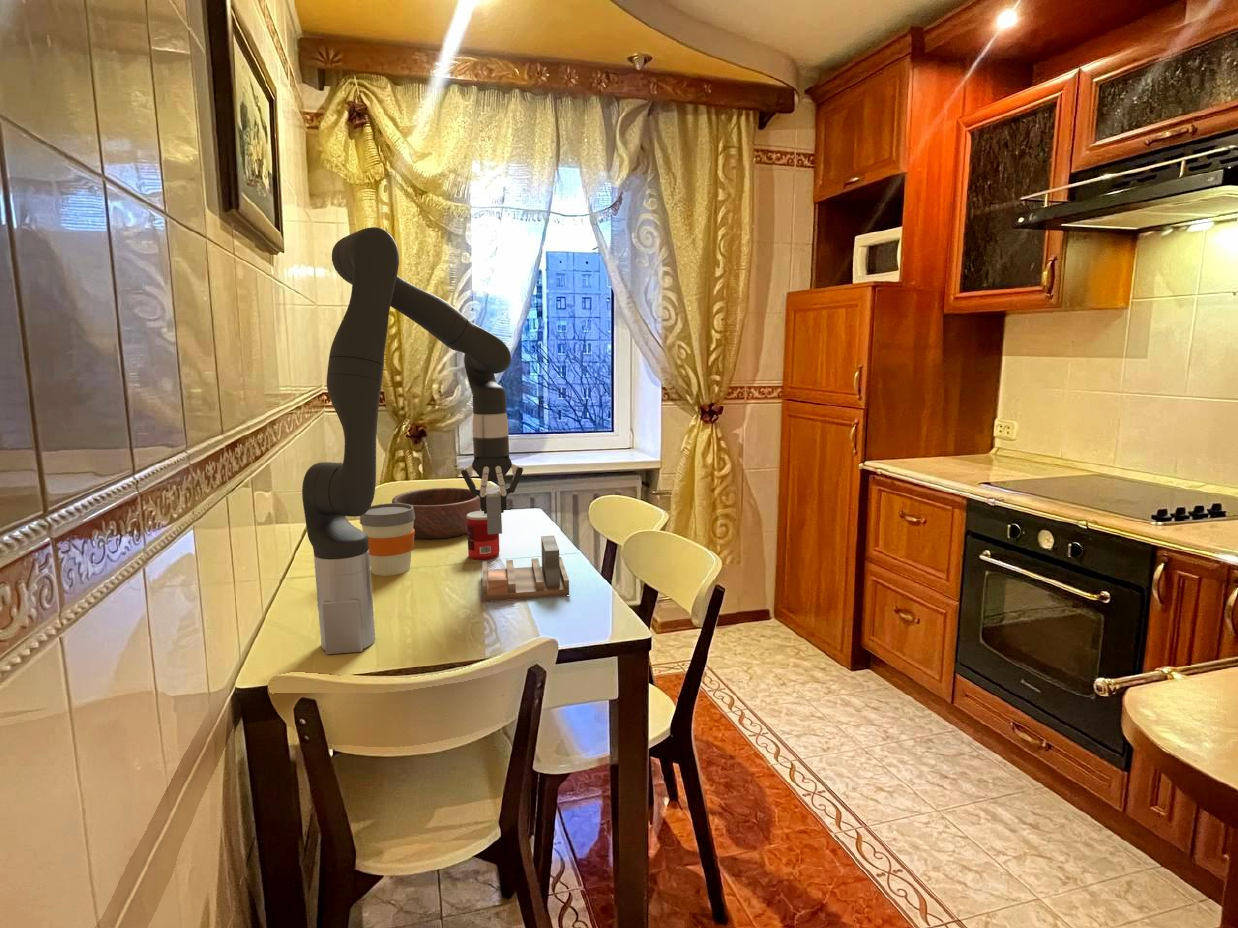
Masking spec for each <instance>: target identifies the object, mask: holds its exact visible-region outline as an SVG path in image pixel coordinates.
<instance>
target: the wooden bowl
mask: <svg viewBox="0 0 1238 928" xmlns="http://www.w3.org/2000/svg"><path fill="white" fill-rule="evenodd" d="M391 503H401V504H409V505H412V506H413V508H414V514H415V520H414V523H413V528H414V529H415V534H414V539H417V540H418V539H419V540H439V539H440V540H441V539H449V538H455V537H458V536H463V535H467V514H468V513H471V512H475V511H481V508H480V497H479V496H478V495H473V494H472V493H471V491H470V489H469V488H463V487H462V488H461V487H434V488H426V489H425V488H424V489H417V490H413V491H408V492H402V493H400V494H397V495H395V496H393V498H392V500H391Z"/></svg>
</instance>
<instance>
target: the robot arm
mask: <svg viewBox="0 0 1238 928" xmlns="http://www.w3.org/2000/svg"><path fill="white" fill-rule="evenodd" d="M331 262H332V265H333V268H334V269H335V271H336V273H337V274H338V276H339V277H341V278H342V280H344V281H346V282H347V283H349V284H350V285H351V293H350V299H349V303H348V306H347V309H346V311H345V314H344V316H343V318H342V320H341V322H340V324H339V325H338V326H339V327H338V329H337V331H336V334H335V336H334V338H333V340H332V343H331V346H330V349H329V356H328V363H327V373H326V390H327V394H328V396H329V399H330V401H331V405H332V406H333V407H332V408H333V409H334V411H335V412H336V415H337V418H338V419H339V422H340V425H341V427H342V430H343V437H344V451H343V452H344V453H343V462H329V461H328V462H327V461H324V462H323V461H321V462H317V463H314V464H312V465H311V466H310V467H309V468H308V469H307V470H306V472H305V475H304V477H303V480H302V481H303V482H302V484H301V485H302V486H301V487H302V489H301V495H302V497H301V498H302V504H303V505H302V507H303V512H304V519H305V525H306V532H307V533H306V534H307V538H308V541H309V542H310V544H311V546H312V549H313V561H314V572H315V574H314V575H315V584H316V585H315V586H316V596H317V598H316V599H317V609H318V620H319V621H318V622H319V631H320V643H321V649H322V650H323V651H325V655H334V654H347V653H358V652H359V653H360V652H363V651H364V649H366V648H368V647H370V646H371V645H373V644H374V643H375V641H376V628H375V627H376V626H375V615H374V602H373V601H374V599H373V598H374V597H373V588H372V587H373V586H372V572H371V567H370V554H369V541H368V536H367V534H366V533H365V532H363V530H361V529H360V528H358V527H356V526H354V525H353V524H352V523H351V522H350V521H349V520H348V519H347V517H354V518H355V517H356V518H357V517H360V516H361V515H363V514H365V513H366V512H367V511H368V510H369V508H370V507H371V506H372V504H373V501H374V498H375V494H376V485H377V433H378V419H379V418H378V417H379V409H380V408H379V407H380V400H381V399H380V398H381V391H382V386H383V385H382V384H383V378H384V375H383V374H384V369H385V368H384V367H385V353H386V352H385V351H386V344H387V337H388V336H387V334H388V327H389V326H388V325H389V318H390V317H389V316H390V310H391V308H393V309H394V310H396V311H397V312H399V313H400V314H402V315H404V317H407V318H408V319H410V320H411V321H413V322H415V324H417V325H418V326H420V327H421V328H423V329H424V330H425V331H427V332H428V333H429V334H430V335H431V336H433V337H434V338H436V339H437V340H438V341H439V342H441V343H442V344H443V345H444V346H445V347H447V348H449V349H450V350H452V351H455V352H458V353H459V352H460V353H463V354H464V357H463V362H464V368H465V373H466V378H467V381H468V384H469V387H470V391H471V394H472V432H471V433H472V442H473V461H472V463H471V465H469V466H467V467H462V468H461V471H460V474H461V476H462V477H463V479H464V482H465V483H466V486H467V487H468V489H470V491H471V493H472V494H473V495H478V496H479V497H480V508H481V509H480V511H484V514H487V505H486V488H487V486H488V482H492V481H493V482H494V481H495V482H498V485H499V487H500V495H501V514H504V513H505V511H507V508H508V501H507V496H508V495H510V494H514V493H515V491H516V489H517V487H518V484H519V481H520V479H521V477H522V474H523V472H524V468H523V466H522V465H518V464H517V465H516V464H514V463H512V460H511V458H510V442H509V439H510V438H509V421H508V414H507V396H506V390H505V388H504V387H503V386H501V385H500V384H498V383H497V380H496V377H495V375H497V374H501V373H503V372H505V371H507V370H508V368H509V367H510V365H511V362H512V356H511V351H510V349H509V347H508V345H507V344H506V343H505V342H504V341H503V340H502V339H501V338H499V337H498V336H495V335H494V334H493V333H491V332H489V331H488V330H486V329H485V328H483V327H480V326H478V325H477V324H475V323H474V322H472V321H471V320H470V319H469V318H467V317H466V316H465V315H464V314H463V313H462V312H461V311H459V310H458V309H457V308H456V307H454V306H453V305H452V304H450V302H447V300H445V299H442V298H441V297H439V296H437V295H435V294H433V293H431V292H428V291H426V290H424V289H422V288H420V287H417V286H416V285H414V284H412V283H410V282H408V281H407V280H404V279H403V278H402V277H401V276H399V275H398V273H399V266H400V252H399V248H398V245H397V243H396V240H395V239H394V237H393V236H392V235H391V234H390V233H389V232H388V231H387V230H385V229H383V228H381V227H375V226H373V227H372V226H371V227H365V228H362V229H360V230H357V231H355V232H352V233H351V234H349V235H346V236H344V237H343V238H340V239H339V240H338V241H337V242H336V243H335V244H334V246H333V247H332V251H331ZM510 469H511V470H512V471H511V474H512V475H513V476H512V479H511V481H510V483H509V486H507V487H506V483H505V479H504V478H505V477H506V476H507V474H508V473H509V471H510ZM473 471H474V473H476V474H477V475H478V477H479V478H480V479H481V480H480V488H477V486H476V484H475V482H474V481H473V478H472V477H473Z"/></svg>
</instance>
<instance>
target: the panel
mask: <svg viewBox="0 0 1238 928" xmlns="http://www.w3.org/2000/svg"><path fill="white" fill-rule="evenodd" d="M486 505H487V529H488V534H499V535H500V534H503V521H502V513H501V491H500V487H499V484H498V485H487V488H486Z"/></svg>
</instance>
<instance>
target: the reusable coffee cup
mask: <svg viewBox="0 0 1238 928" xmlns="http://www.w3.org/2000/svg"><path fill="white" fill-rule="evenodd" d="M414 520H415V514H414V508H413V506H412V505H409V504H401V503H392V502H391V503H380V504H374V505H371V507H370V508H369V510H368V511H367V512H366V513H365V514H363V515H361V516H359V524H360V525H361V527H362V531H363V532H365V533H366V534H367V536H368V541H369V554H370V570H371V574H373V575H375V576H381V577H382V576H383V577H387V576H397V575H401V574H404V573H407V572H409V571H410V570H411V565H412V564H411V563H412V550H413V549H414V548H415V547H414V545H415V544H414V543H415V538H414V534H415V529H414V528H413V523H414Z"/></svg>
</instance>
